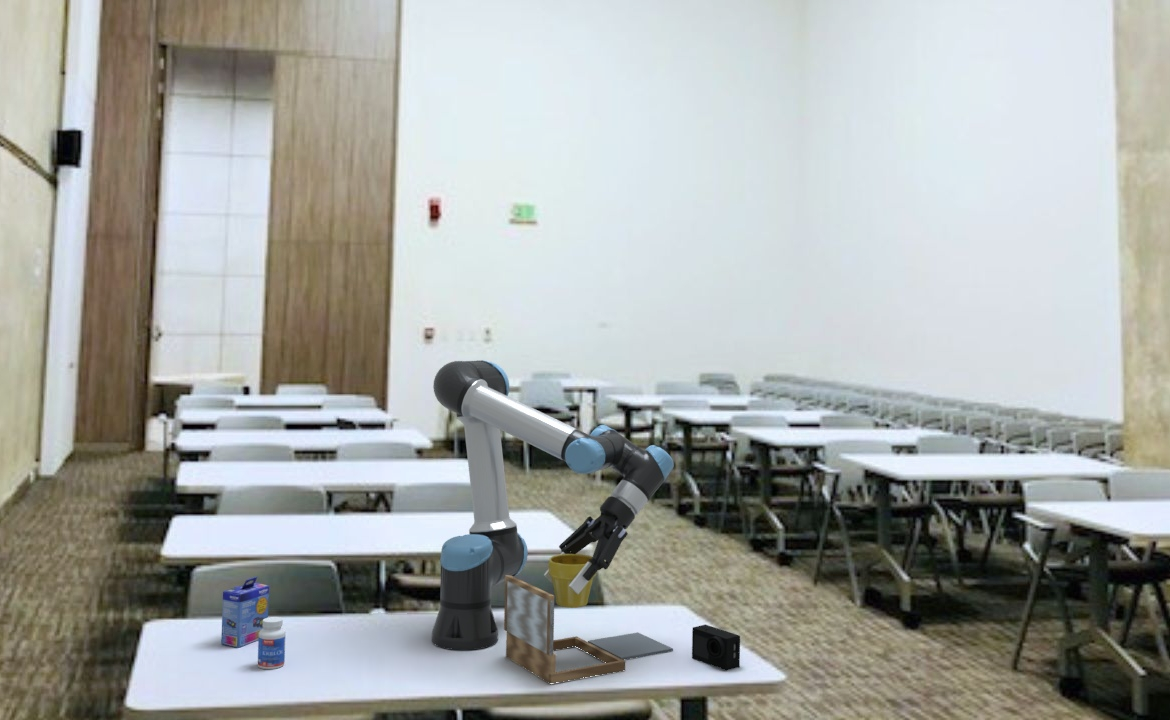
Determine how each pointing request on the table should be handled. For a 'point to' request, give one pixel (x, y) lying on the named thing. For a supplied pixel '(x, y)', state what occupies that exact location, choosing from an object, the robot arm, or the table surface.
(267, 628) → the pill bottle
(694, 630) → the digital camera
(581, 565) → the plant pot
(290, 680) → the table surface
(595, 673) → the cold frame
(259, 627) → the ink cartridge box
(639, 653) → the mat
